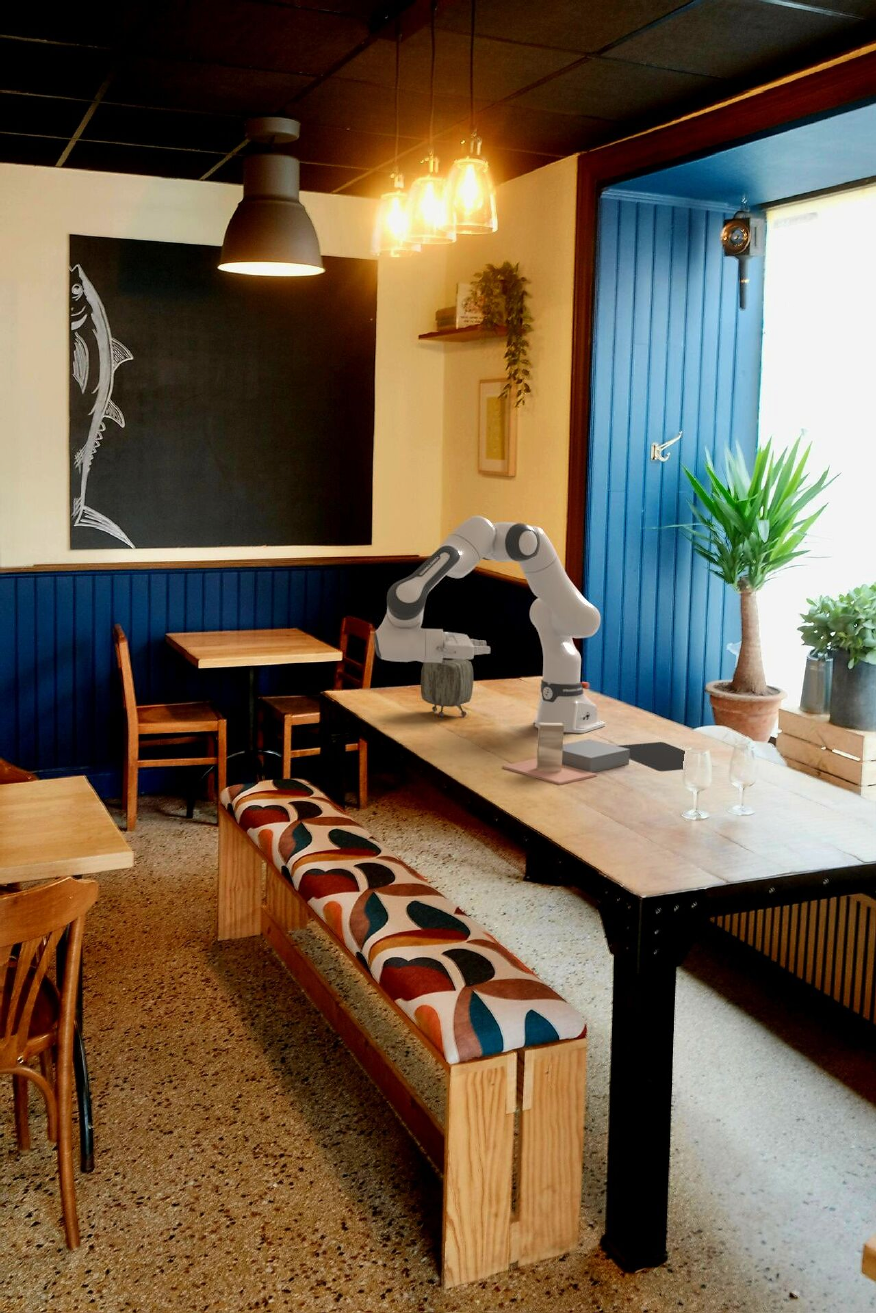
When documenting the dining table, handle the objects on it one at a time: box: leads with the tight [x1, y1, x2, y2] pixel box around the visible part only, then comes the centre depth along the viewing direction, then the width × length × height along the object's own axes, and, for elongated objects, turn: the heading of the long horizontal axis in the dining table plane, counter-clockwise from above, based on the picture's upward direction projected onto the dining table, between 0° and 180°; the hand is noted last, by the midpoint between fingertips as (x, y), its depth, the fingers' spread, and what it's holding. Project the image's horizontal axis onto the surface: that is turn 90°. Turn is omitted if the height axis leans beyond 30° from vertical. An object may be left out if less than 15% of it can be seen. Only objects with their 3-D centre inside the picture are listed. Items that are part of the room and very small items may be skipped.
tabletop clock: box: [420, 658, 474, 717], centre depth 376 cm, size 14×9×25 cm, turn 58°
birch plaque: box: [536, 723, 565, 771], centre depth 314 cm, size 3×6×12 cm, turn 94°
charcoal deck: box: [562, 738, 630, 773], centre depth 326 cm, size 16×14×4 cm
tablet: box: [618, 741, 686, 772], centre depth 336 cm, size 27×1×20 cm
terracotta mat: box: [501, 757, 598, 786], centre depth 316 cm, size 14×20×1 cm
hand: (488, 647), depth 323 cm, fingers open, 8 cm apart
